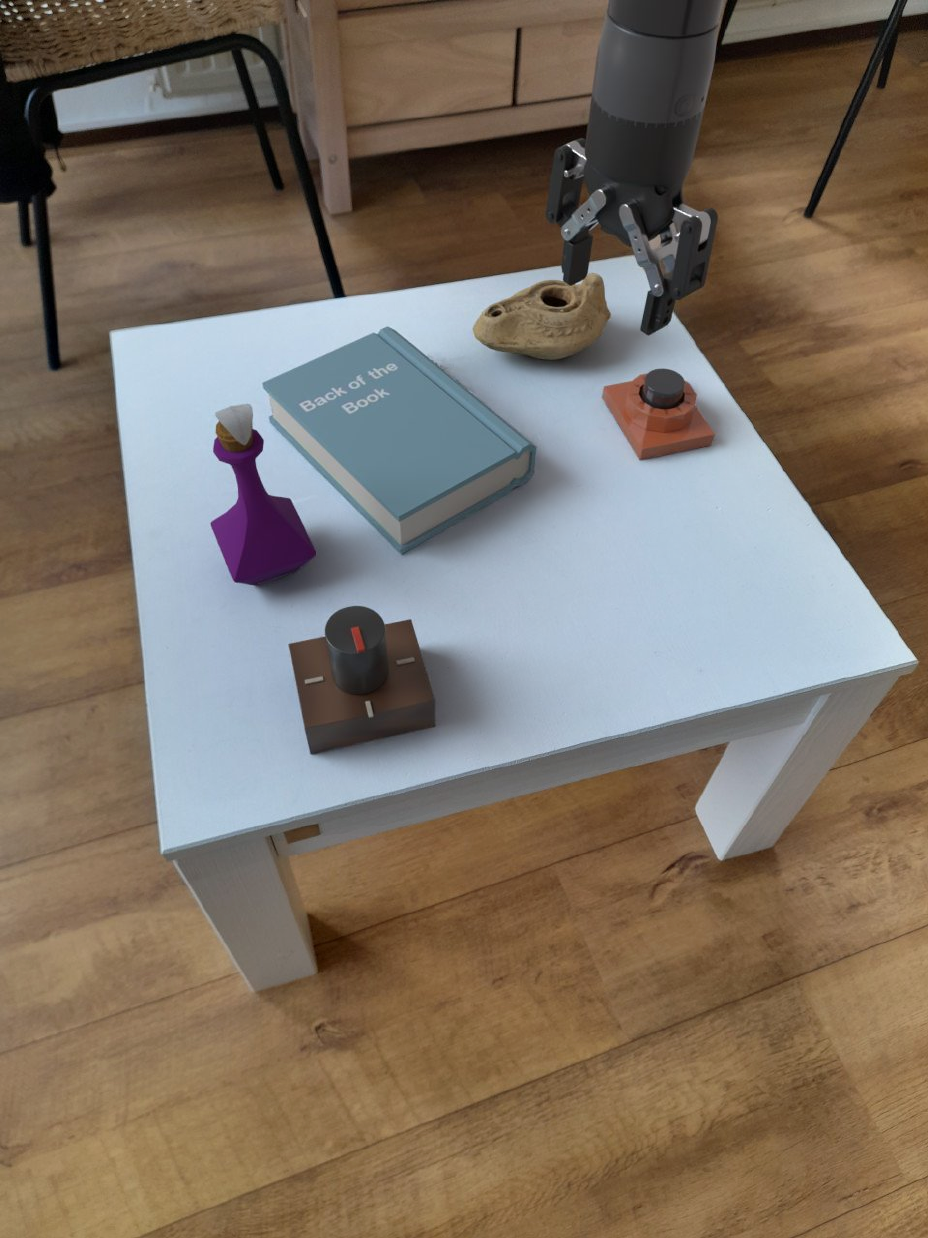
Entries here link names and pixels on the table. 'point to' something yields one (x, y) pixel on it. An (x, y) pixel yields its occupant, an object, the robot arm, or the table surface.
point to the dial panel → (369, 715)
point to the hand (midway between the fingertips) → (612, 304)
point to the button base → (657, 420)
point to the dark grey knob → (663, 389)
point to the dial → (357, 649)
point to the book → (398, 436)
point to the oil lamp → (546, 319)
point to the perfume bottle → (255, 510)
